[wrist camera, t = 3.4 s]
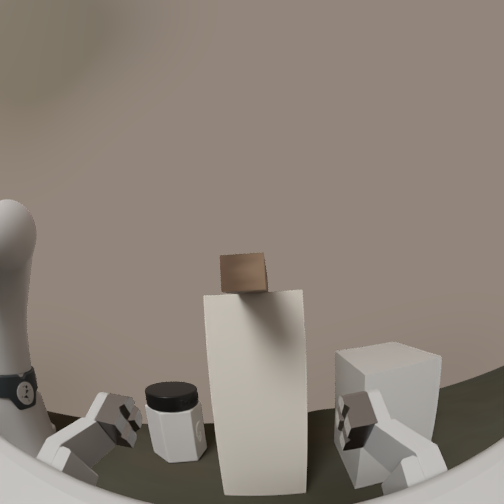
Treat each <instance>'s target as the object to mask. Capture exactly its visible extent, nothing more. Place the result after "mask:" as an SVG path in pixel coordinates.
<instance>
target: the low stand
mask: <svg viewBox="0 0 504 504" xmlns="http://www.w3.org/2000/svg"><path fill="white" fill-rule="evenodd" d="M441 359H442V356H439V355H436V354H432V353H429V352H426V351H422V350H419V349H416V348H413V347H410V346H406V345H403V344H400V343H397V342H389V343H383V344H377V345H372V346H366V347H360V348H353V349H346V350H339V351H335V380H336V381H335V386H336V387H335V429H334V443H335V445H336V448H337V450H338V452H339V454H340V456H341V459H342V461H343V463H344V465H345V468H346V470H347V472H348V474H349V477H350V479H351V481H352V483H353V486H354V488H355V489H357V488H361V487H365V486H369V485H373V484H377V483H380V482H384V481H385V480H386V479H387V478H388V476H389V475H390V474H391V473H390V472H389V471H388V470H387V469H386V468H384V467H383V466H382V465H381V464H380V463H379V462H378V461H377V460H376V459H374V458H373V457H372V456H371V455H370V454H369V453H368V452H367V451H366V450H365V449H363V448H364V447H363V448H358V449H352V450H347V451H342V447H341V442H340V435H341V431H339V430H338V429H337V424H336V409H337V407H338V406H339V402H338V400H339V397H340V395H346V394H351V393H356V392H361V391H368V390H372V389H379V390H380V393H381V395H382V397H383V400H384V402H385V404H386V407H387V409H388V412H389V414H390V417H391V419H396V420H398V421H399V422H401V423H402V424H404V425H406V426H407V427H409V428H410V429H412V430H413V431H415V432H417V433H418V434H420V435H421V436H423V437H425V438H426V439H428V440H429V441H431V438H432V433H433V428H434V423H435V417H436V410H437V403H438V395H439V386H440V374H441Z"/></svg>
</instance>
